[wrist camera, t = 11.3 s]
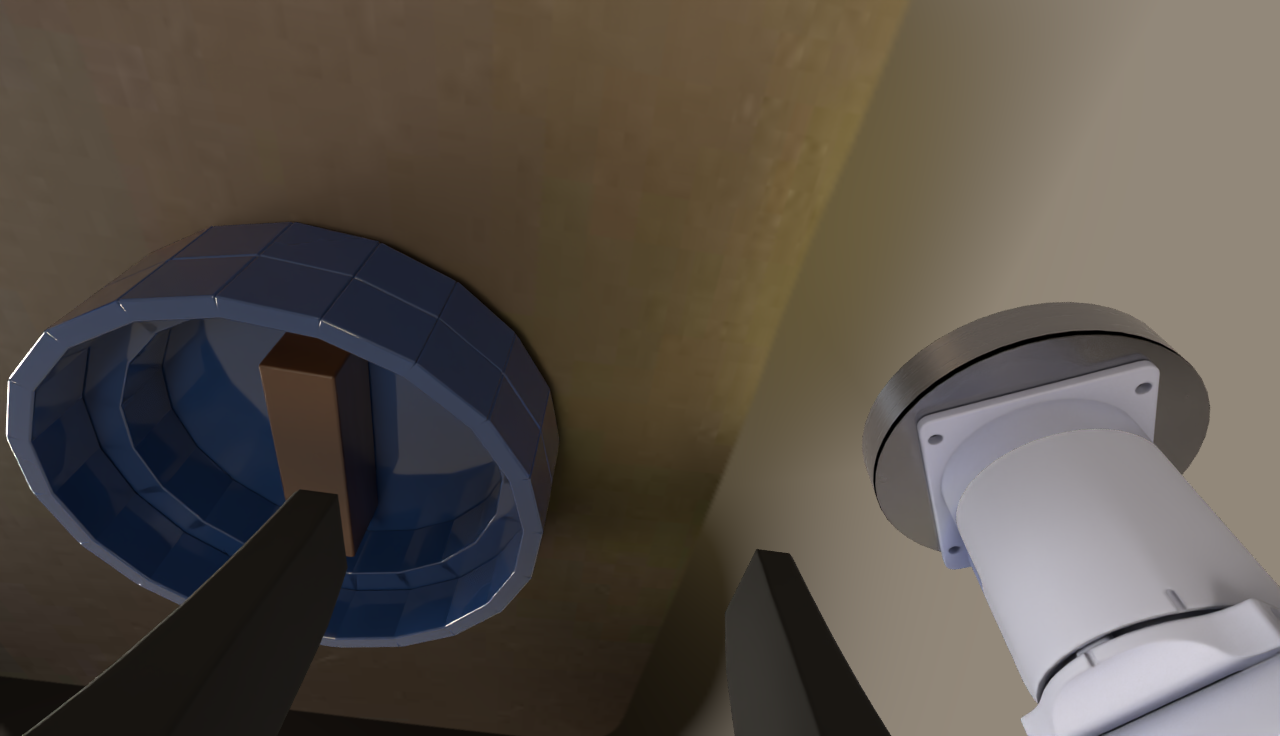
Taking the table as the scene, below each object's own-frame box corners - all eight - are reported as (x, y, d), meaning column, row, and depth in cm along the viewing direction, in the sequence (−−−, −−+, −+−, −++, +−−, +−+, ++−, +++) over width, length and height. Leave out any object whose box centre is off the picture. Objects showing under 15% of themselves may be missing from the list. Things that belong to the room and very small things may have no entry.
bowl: (624, 494, 24) (617, 601, 21) (317, 572, 28) (266, 676, 24) (407, 135, 16) (336, 206, 13) (17, 306, 20) (-125, 401, 16)
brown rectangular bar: (378, 504, 24) (354, 558, 22) (323, 496, 24) (293, 550, 22) (366, 327, 19) (333, 377, 17) (296, 315, 19) (256, 364, 17)
